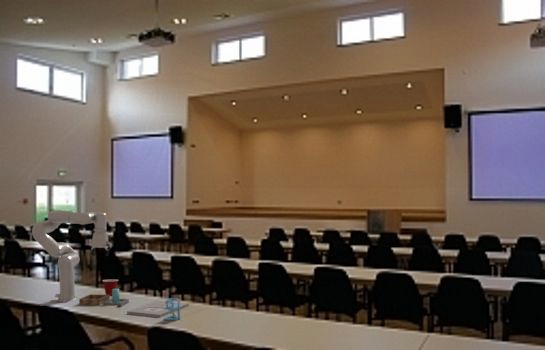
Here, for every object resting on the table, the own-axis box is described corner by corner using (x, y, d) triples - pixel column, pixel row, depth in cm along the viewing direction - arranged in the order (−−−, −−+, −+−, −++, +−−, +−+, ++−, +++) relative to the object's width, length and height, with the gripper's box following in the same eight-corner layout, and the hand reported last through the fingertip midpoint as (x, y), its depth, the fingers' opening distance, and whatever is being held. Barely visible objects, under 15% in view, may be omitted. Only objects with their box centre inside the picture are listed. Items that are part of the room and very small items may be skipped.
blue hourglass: (174, 321, 299) (173, 300, 299) (163, 319, 303) (162, 299, 303) (183, 318, 305) (182, 297, 305) (172, 316, 310) (172, 296, 310)
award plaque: (188, 306, 336) (188, 303, 336) (160, 318, 309) (160, 314, 309) (157, 303, 346) (157, 300, 346) (127, 314, 319) (127, 311, 319)
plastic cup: (121, 294, 375) (120, 278, 375) (115, 298, 364) (114, 281, 364) (106, 295, 376) (106, 278, 376) (100, 298, 365) (99, 281, 365)
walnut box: (79, 306, 341) (79, 299, 341) (90, 301, 355) (90, 294, 355) (99, 307, 339) (99, 299, 339) (109, 302, 353) (109, 294, 353)
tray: (103, 306, 340) (103, 302, 340) (111, 302, 352) (111, 298, 352) (120, 306, 338) (120, 303, 338) (128, 302, 350) (128, 298, 350)
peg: (111, 303, 343) (110, 290, 343) (114, 302, 347) (113, 288, 348) (117, 303, 342) (117, 290, 342) (120, 302, 347) (120, 288, 347)
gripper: (86, 230, 358) (85, 256, 358) (109, 231, 355) (109, 257, 355) (92, 229, 365) (91, 254, 365) (114, 230, 362) (114, 255, 362)
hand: (100, 255), depth 360 cm, fingers open, 9 cm apart
